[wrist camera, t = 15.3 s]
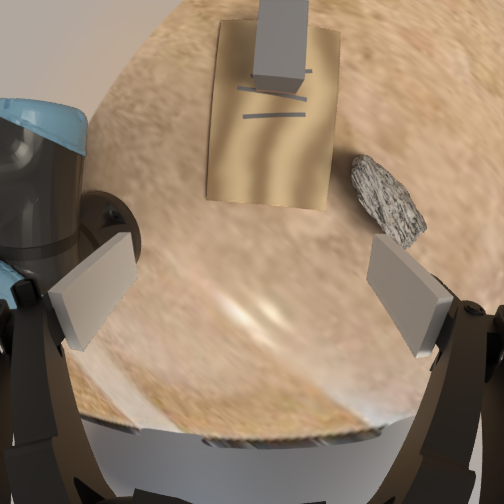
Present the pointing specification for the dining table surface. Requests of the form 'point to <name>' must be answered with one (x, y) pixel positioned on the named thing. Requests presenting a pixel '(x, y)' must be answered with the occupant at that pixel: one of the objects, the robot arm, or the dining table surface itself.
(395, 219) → the rock
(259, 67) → the block
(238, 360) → the dining table surface
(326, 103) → the board
